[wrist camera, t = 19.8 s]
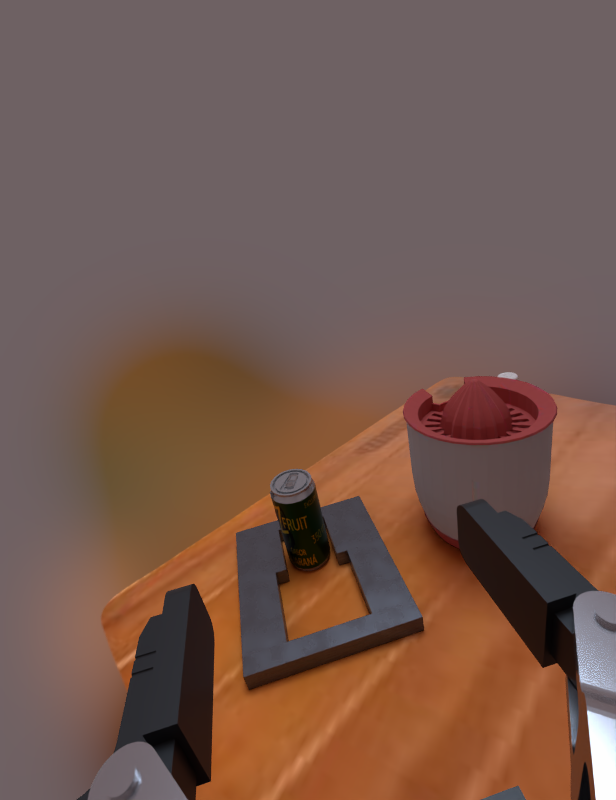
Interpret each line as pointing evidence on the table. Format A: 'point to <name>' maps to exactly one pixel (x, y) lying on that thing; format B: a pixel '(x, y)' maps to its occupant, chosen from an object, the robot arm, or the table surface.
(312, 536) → the green drink can
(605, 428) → the table surface
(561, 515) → the table surface
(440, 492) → the citrus juicer
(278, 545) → the keyhole plate
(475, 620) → the table surface
